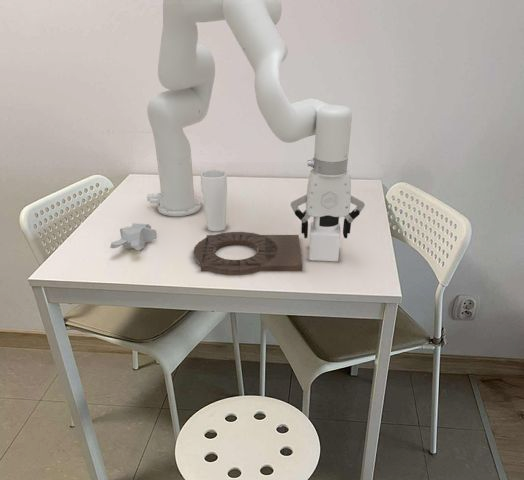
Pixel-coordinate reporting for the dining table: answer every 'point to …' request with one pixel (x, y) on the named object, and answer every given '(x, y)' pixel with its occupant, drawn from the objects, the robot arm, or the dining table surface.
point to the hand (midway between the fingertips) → (325, 235)
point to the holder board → (266, 259)
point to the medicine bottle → (325, 239)
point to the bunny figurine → (135, 236)
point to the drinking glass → (214, 198)
